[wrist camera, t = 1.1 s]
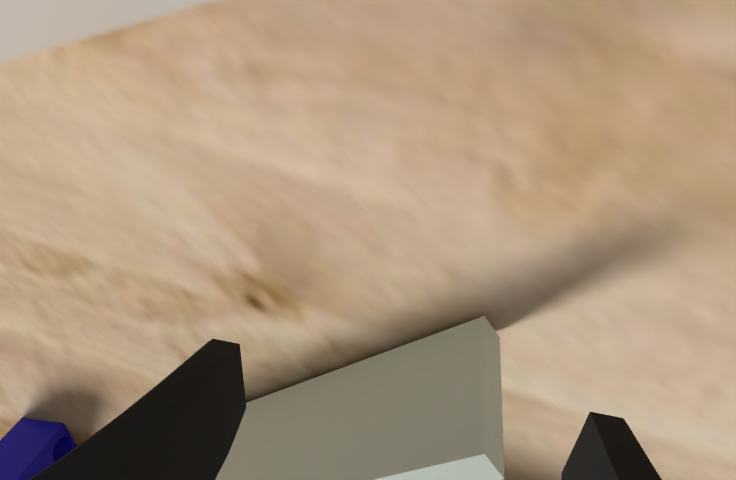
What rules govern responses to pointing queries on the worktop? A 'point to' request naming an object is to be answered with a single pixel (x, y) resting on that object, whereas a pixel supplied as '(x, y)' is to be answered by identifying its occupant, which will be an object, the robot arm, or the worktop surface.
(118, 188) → the worktop surface
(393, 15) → the worktop surface
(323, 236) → the worktop surface
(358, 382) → the cabinet door
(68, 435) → the cable clip
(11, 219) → the worktop surface
